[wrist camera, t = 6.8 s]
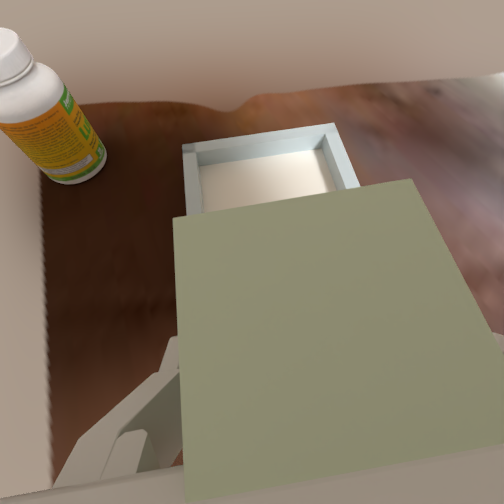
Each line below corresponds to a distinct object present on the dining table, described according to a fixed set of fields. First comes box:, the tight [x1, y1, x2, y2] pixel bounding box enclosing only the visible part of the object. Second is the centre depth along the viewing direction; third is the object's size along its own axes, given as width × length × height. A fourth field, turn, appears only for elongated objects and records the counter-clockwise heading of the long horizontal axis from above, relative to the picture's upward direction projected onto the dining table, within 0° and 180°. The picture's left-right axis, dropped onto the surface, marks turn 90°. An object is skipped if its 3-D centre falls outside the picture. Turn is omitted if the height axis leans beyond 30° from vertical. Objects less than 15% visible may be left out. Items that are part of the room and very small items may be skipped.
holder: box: [182, 123, 360, 216], centre depth 21 cm, size 12×12×3 cm
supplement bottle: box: [0, 28, 107, 184], centre depth 21 cm, size 5×5×10 cm
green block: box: [173, 178, 504, 503], centre depth 9 cm, size 4×4×11 cm
